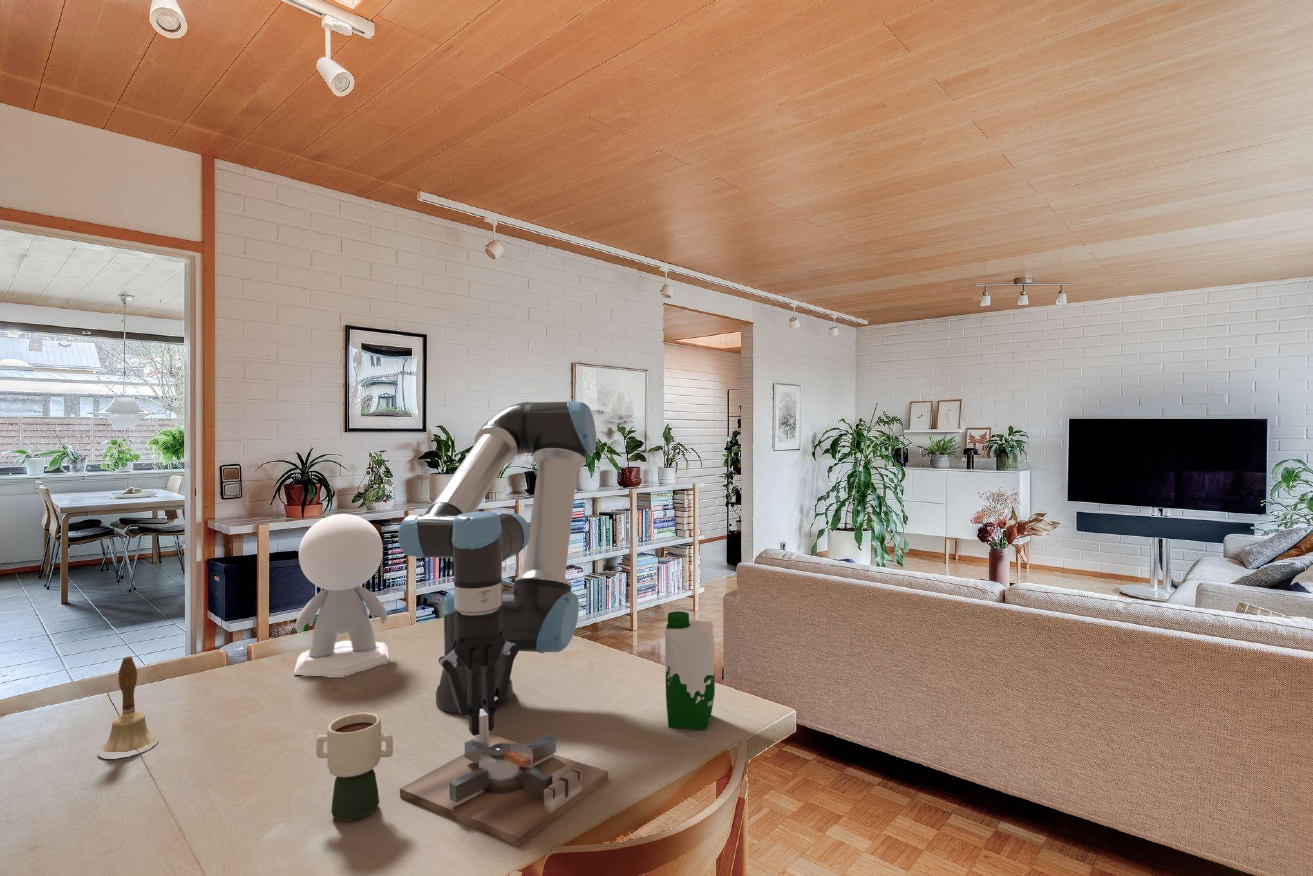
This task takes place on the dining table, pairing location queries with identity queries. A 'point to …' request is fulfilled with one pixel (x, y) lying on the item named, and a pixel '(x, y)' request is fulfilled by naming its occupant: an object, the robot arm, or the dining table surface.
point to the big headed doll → (341, 597)
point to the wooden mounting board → (507, 796)
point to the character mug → (354, 762)
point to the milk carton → (689, 671)
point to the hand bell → (128, 716)
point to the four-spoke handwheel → (504, 768)
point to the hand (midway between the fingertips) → (482, 751)
